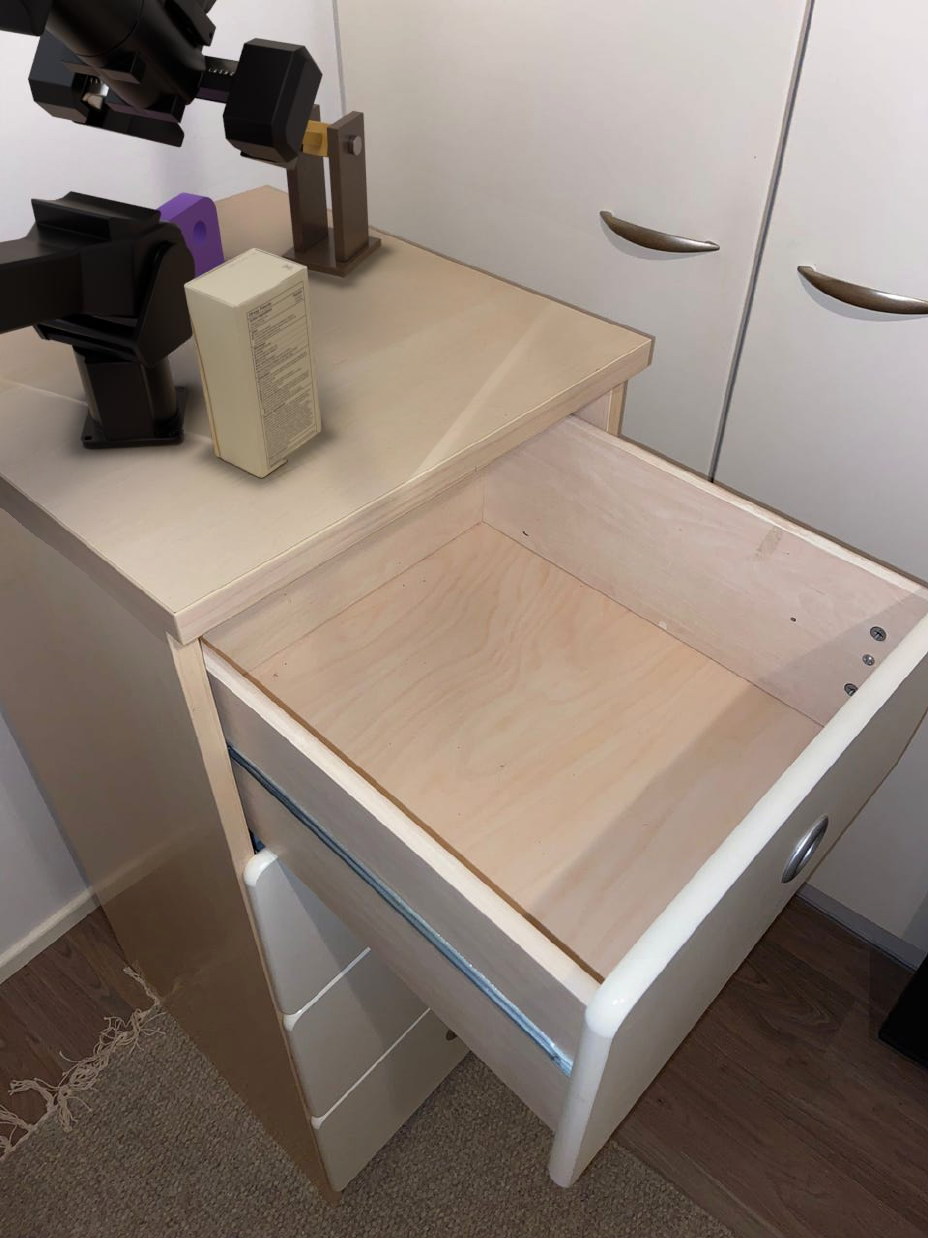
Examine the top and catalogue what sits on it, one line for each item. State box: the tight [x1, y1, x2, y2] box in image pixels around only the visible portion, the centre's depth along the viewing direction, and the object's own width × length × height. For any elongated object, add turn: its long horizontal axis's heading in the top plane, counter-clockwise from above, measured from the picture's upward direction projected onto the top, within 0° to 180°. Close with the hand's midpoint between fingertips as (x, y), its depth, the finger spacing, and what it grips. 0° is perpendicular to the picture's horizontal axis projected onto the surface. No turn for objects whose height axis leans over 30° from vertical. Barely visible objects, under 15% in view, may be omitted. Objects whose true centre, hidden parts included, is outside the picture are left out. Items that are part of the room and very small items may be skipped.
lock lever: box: [302, 120, 332, 159], centre depth 75 cm, size 11×3×3 cm, turn 157°
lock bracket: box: [280, 103, 382, 278], centre depth 81 cm, size 7×6×12 cm
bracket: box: [155, 192, 226, 278], centre depth 80 cm, size 12×7×7 cm, turn 69°
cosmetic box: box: [184, 247, 322, 479], centre depth 61 cm, size 6×4×12 cm
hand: (236, 151), depth 68 cm, fingers open, 9 cm apart
